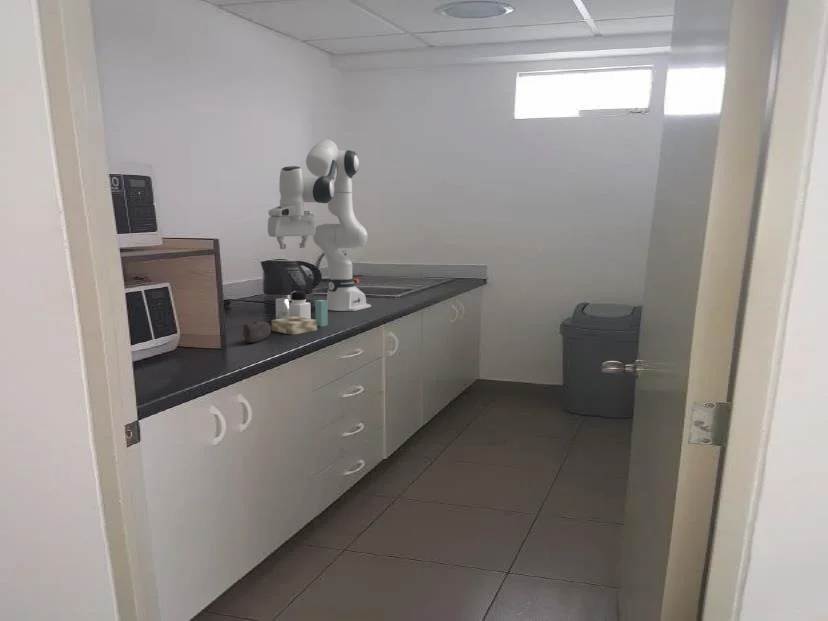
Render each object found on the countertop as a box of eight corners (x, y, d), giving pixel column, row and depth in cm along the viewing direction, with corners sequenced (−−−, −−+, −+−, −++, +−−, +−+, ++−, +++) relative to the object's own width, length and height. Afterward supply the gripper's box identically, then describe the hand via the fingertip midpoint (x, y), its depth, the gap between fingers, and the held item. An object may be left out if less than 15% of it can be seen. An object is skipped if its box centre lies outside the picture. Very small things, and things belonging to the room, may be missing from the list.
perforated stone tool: (264, 336, 230) (264, 317, 229) (276, 337, 228) (276, 318, 227) (238, 344, 216) (237, 324, 215) (251, 345, 214) (250, 325, 213)
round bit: (284, 322, 258) (283, 297, 256) (292, 323, 254) (292, 299, 253) (273, 323, 254) (272, 299, 252) (282, 325, 250) (281, 300, 249)
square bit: (321, 324, 254) (321, 299, 252) (327, 325, 252) (327, 300, 250) (315, 325, 251) (315, 300, 250) (321, 326, 249) (321, 301, 248)
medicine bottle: (311, 319, 264) (310, 291, 262) (299, 322, 258) (299, 293, 256) (298, 317, 268) (297, 289, 266) (286, 320, 262) (285, 291, 260)
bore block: (296, 326, 249) (296, 316, 248) (316, 330, 242) (316, 319, 241) (271, 330, 240) (271, 320, 239) (292, 334, 232) (292, 324, 232)
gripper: (307, 210, 243) (308, 246, 246) (264, 210, 228) (265, 249, 230) (318, 211, 240) (319, 247, 242) (275, 211, 224) (276, 250, 226)
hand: (292, 248), depth 236 cm, fingers open, 8 cm apart
